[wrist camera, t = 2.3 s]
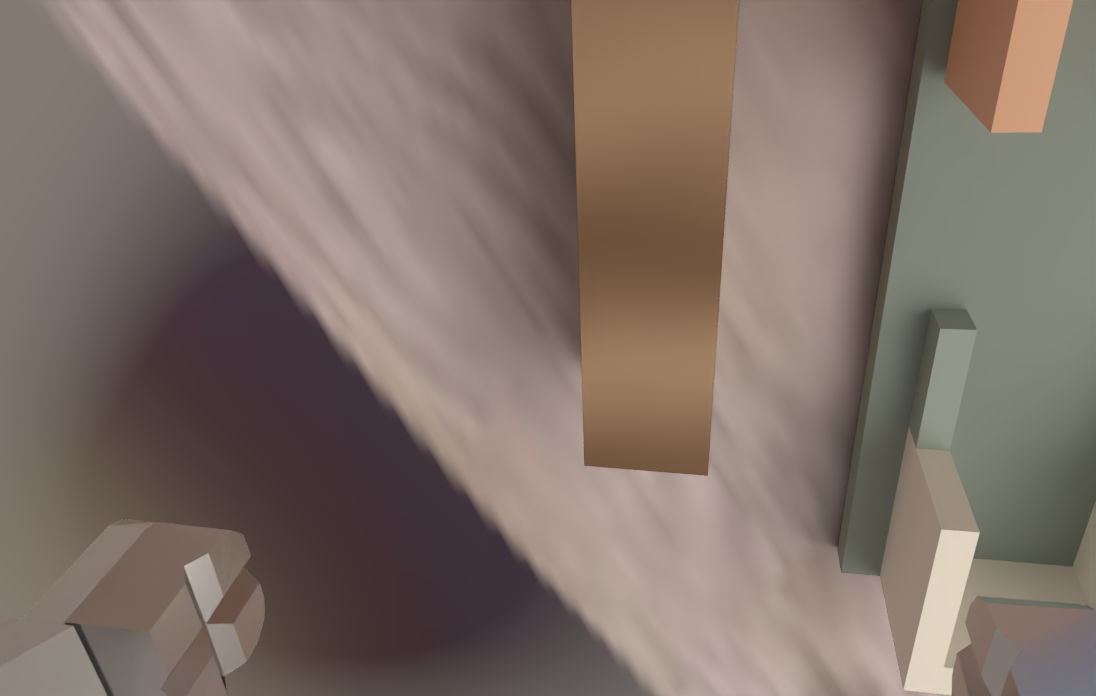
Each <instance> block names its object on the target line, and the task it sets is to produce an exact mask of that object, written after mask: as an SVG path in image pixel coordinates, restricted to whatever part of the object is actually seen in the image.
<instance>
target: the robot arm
mask: <svg viewBox="0 0 1096 696" xmlns="http://www.w3.org/2000/svg"><path fill="white" fill-rule="evenodd" d="M250 556H251V554H250V552H249V549H248V547H247V544H246V541H245V538H244V536H243V535H242V534H240V533H237V532H234V531H230V530H221V529H213V528H204V527H195V526H187V525H178V524H169V523H161V522H160V523H154V522H145V521H136V520H128V519H123V520H121V521H118V522H116V523H113V524H111V525H109V526H108V527H107V528H106V529H105V530H104V531H103V533H102V534H101V535H100V536H99V537H98V538H97V539H96V540H95V541H94V542H93V543H92V544H91V545H90V547H88V548H87V550H86V551H85V552H84V553H83V554H82V555H81V556H80V557H79V558H78V559H77V560H76V561H75V562H74V563H73V564H72V566H71V567H70V568H69V569H68V570H67V571H66V572H65V573H64V574H63V575H62V576H61V577H60V578H59V579H58V580H57V582H56V583H55V584H54V585H53V586H52V587H51V588H50V589H49V590H48V591H47V592H46V593H45V594H44V595H43V596H42V597H41V599H40V600H39V601H38V602H37V603H36V604H35V605H34V606H33V607H32V608H31V609H30V610H29V611H28V612H27V614H26V615H25V616H24V617H23V618H22V619H13V618H9V619H7V620H5V621H3V622H1V623H0V696H226V695H227V689H226V682H225V675H227V674H228V673H230V672H232V671H233V670H235V669H236V668H238V667H239V666H241V665H242V664H244V663H245V662H246V661H247V660H248V658H249V656H250V654H251V653H252V651H253V649H254V647H255V646H256V644H257V642H258V639H259V636H260V632H261V628H262V624H263V620H264V617H265V614H264V596H263V593H262V590H261V586H260V583H259V582H258V581H257V580H256V579H255V578H254V577H253V576H252V575H251V574H249V572H247V571H246V570H245V569H244V566H245V564H246V563H247V561H248V559H249V558H250ZM965 624H966V627H967V630H968V634H969V637H970V640H971V644H970V645H968V646H967V647H965V648H964V649H962V650H961V651H959V652H958V653H957V655H956V660H955V664H954V669H953V673H952V696H1096V605H1085V606H1083V605H1081V604H1072V603H1059V602H1047V601H1034V600H1021V599H1009V598H996V597H984V596H977V597H976V598H975V599H974V601H973V602H972V603H971V604H970V607H969V611H968V614H967V618H966V621H965Z"/></svg>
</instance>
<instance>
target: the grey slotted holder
mask: <svg viewBox="0 0 1096 696" xmlns="http://www.w3.org/2000/svg"><path fill="white" fill-rule="evenodd" d="M957 5H958V0H923V2H922V8H921V15H920V21H919V28H918V34H917V40H916V47H915V53H914V60H913V66H912V73H911V79H910V85H909V92H908V98H907V105H906V111H905V118H904V124H903V131H902V137H901V143H900V150H899V156H898V163H897V169H896V176H895V182H894V189H893V195H892V201H891V208H890V214H889V221H888V227H887V234H886V240H885V247H884V253H883V259H882V266H881V272H880V279H879V285H878V292H877V298H876V305H875V311H874V317H873V324H872V330H871V337H870V343H869V350H868V356H867V362H866V369H865V375H864V382H863V388H862V395H861V401H860V408H859V414H858V420H857V427H856V433H855V440H854V446H853V453H852V459H851V466H850V472H849V478H848V485H847V491H846V498H845V504H844V511H843V517H842V524H841V530H840V536H839V543H838V555H839V561H840V568H841V572H842V573H853V574H865V575H876V576H880V579H881V584H882V589H883V593H884V598H885V603H886V608H887V613H888V618H889V622H890V627H891V632H892V637H893V642H894V646H895V651H896V656H897V661H898V666H899V670H900V675H901V680H902V685H903V690H909V691H918V692H927V693H936V694H945V695H952V673H953V669H954V664H955V660H956V655H957V653H958V652H959V651H961V650H962V649H964V648H965V647H967V646H968V645H970V644H971V640H970V637H969V634H968V630H967V627H966V624H965V621H966V618H967V614H968V611H969V607H970V604H971V603H972V602H973V601H974V599H975V598H976V597H977V596H984V597H996V598H1009V599H1021V600H1034V601H1047V602H1059V603H1072V604H1081V605H1083V606H1085V605H1096V0H1073V4H1072V8H1071V12H1070V16H1069V21H1068V25H1067V29H1066V33H1065V37H1064V41H1063V46H1062V50H1061V54H1060V58H1059V62H1058V66H1057V70H1056V75H1055V79H1054V83H1053V87H1052V91H1051V95H1050V100H1049V104H1048V108H1047V112H1046V116H1045V120H1044V125H1043V129H1042V132H1015V133H991V132H990V131H989V130H988V129H987V128H986V127H985V126H984V125H983V124H982V123H981V121H980V120H979V119H978V118H977V117H976V116H975V115H974V114H973V113H972V112H971V111H970V110H969V108H968V107H967V106H966V105H965V104H964V103H963V102H962V101H961V100H960V99H959V98H958V97H957V95H956V94H955V93H954V92H953V91H952V90H951V89H950V88H949V87H948V86H947V85H946V84H945V82H944V79H945V73H946V67H947V62H948V56H949V50H950V45H951V39H952V33H953V28H954V22H955V16H956V10H957Z"/></svg>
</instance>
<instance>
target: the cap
mask: <svg viewBox="0 0 1096 696" xmlns="http://www.w3.org/2000/svg"><path fill="white" fill-rule="evenodd" d="M1072 4H1073V0H958V5H957V10H956V16H955V22H954V28H953V33H952V39H951V45H950V50H949V56H948V62H947V67H946V73H945V79H944V82H945V84H946V85H947V86H948V87H949V88H950V89H951V90H952V91H953V92H954V93H955V94H956V95H957V97H958V98H959V99H960V100H961V101H962V102H963V103H964V104H965V105H966V106H967V107H968V108H969V110H970V111H971V112H972V113H973V114H974V115H975V116H976V117H977V118H978V119H979V120H980V121H981V123H982V124H983V125H984V126H985V127H986V128H987V129H988V130H989V131H990V132H991V133H1015V132H1042V129H1043V125H1044V120H1045V116H1046V112H1047V108H1048V104H1049V100H1050V95H1051V91H1052V87H1053V83H1054V79H1055V75H1056V70H1057V66H1058V62H1059V58H1060V54H1061V50H1062V46H1063V41H1064V37H1065V33H1066V29H1067V25H1068V21H1069V16H1070V12H1071V8H1072Z"/></svg>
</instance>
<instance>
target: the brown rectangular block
mask: <svg viewBox="0 0 1096 696" xmlns="http://www.w3.org/2000/svg"><path fill="white" fill-rule="evenodd" d="M571 11H572V46H573V81H574V116H575V151H576V186H577V221H578V257H579V292H580V327H581V362H582V397H583V432H584V466H596V467H608V468H620V469H633V470H645V471H657V472H669V473H682V474H694V475H706V476H708V462H709V447H710V432H711V417H712V402H713V387H714V372H715V357H716V342H717V327H718V312H719V297H720V282H721V267H722V252H723V237H724V222H725V207H726V192H727V177H728V162H729V147H730V132H731V117H732V102H733V87H734V72H735V57H736V42H737V27H738V12H739V0H571Z"/></svg>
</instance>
